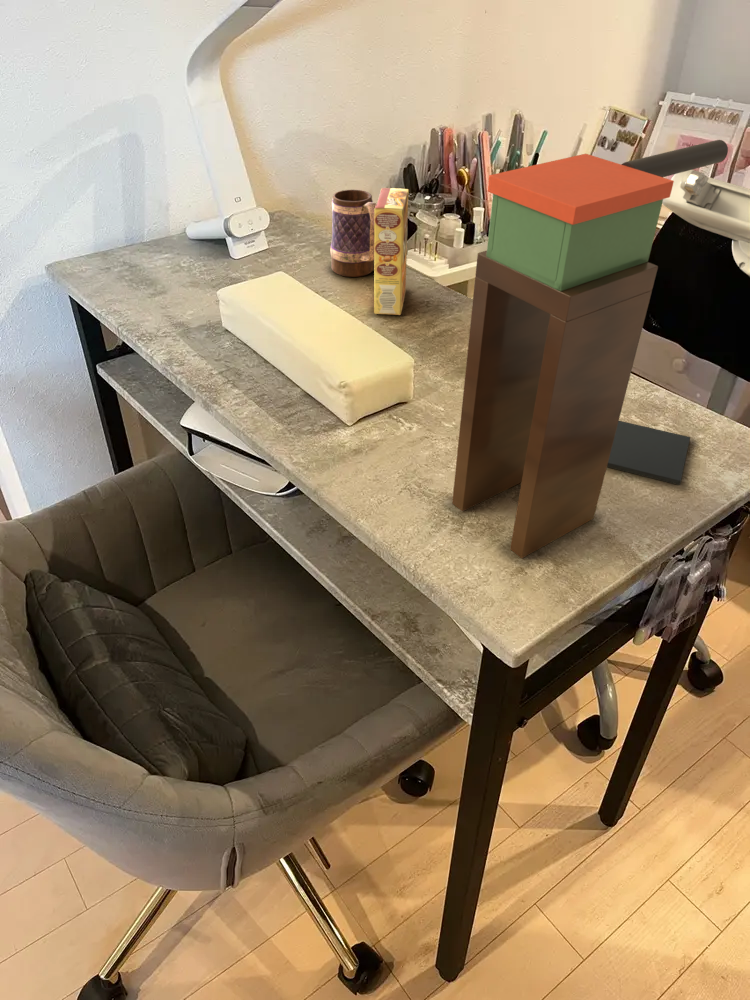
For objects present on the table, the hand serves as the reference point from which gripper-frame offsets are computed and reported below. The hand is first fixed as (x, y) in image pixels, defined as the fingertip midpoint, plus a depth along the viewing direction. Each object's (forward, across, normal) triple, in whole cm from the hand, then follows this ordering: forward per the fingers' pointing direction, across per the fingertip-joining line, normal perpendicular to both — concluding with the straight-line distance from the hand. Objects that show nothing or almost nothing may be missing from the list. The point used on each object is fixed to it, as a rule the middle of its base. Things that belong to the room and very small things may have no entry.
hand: (733, 191), depth 70 cm
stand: (+5, 0, +35) cm, 35 cm away
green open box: (+18, 0, +12) cm, 22 cm away
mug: (-13, -58, +24) cm, 65 cm away
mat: (-11, 0, +26) cm, 28 cm away
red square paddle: (+15, 0, +5) cm, 16 cm away
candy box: (-11, -47, +25) cm, 54 cm away
